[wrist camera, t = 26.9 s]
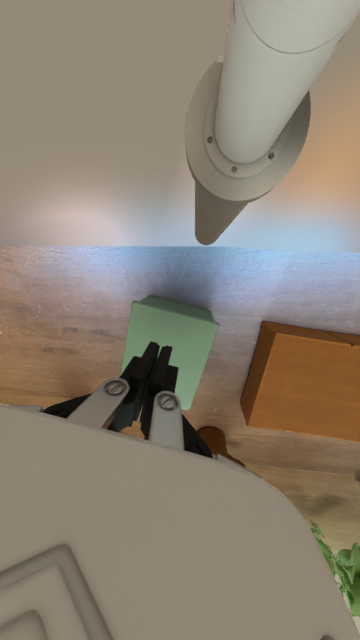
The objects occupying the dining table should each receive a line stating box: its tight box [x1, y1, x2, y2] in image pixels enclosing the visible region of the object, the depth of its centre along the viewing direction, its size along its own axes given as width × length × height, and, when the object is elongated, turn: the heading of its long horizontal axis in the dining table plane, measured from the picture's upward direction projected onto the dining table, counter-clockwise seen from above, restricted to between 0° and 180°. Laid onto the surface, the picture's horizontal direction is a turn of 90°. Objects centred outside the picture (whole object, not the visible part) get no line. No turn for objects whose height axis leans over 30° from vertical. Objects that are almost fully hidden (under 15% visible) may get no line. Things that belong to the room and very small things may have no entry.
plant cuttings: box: [310, 520, 360, 616], centre depth 43 cm, size 35×17×22 cm
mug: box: [197, 427, 246, 468], centre depth 39 cm, size 12×8×9 cm, turn 79°
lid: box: [121, 301, 219, 411], centre depth 27 cm, size 16×13×1 cm
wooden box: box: [240, 321, 360, 442], centre depth 32 cm, size 23×6×35 cm
